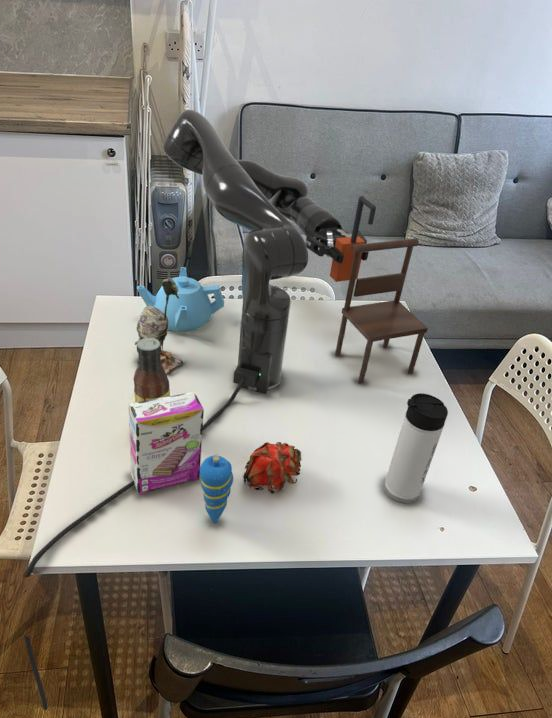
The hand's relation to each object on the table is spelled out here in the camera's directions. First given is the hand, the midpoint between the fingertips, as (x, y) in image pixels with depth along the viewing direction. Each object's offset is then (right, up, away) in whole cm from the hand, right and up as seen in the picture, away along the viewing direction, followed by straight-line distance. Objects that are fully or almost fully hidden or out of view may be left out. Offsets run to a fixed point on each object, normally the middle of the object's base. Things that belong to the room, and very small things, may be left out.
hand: (353, 257), depth 137 cm
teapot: (-39, -12, +14) cm, 43 cm away
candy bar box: (-37, -44, -27) cm, 64 cm away
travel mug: (+4, -47, -25) cm, 53 cm away
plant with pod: (-42, -22, -1) cm, 48 cm away
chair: (+5, -22, +5) cm, 24 cm away
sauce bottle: (-40, -37, -18) cm, 58 cm away
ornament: (-28, -51, -34) cm, 67 cm away
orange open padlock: (-1, -5, +4) cm, 6 cm away
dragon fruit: (-19, -45, -26) cm, 55 cm away
